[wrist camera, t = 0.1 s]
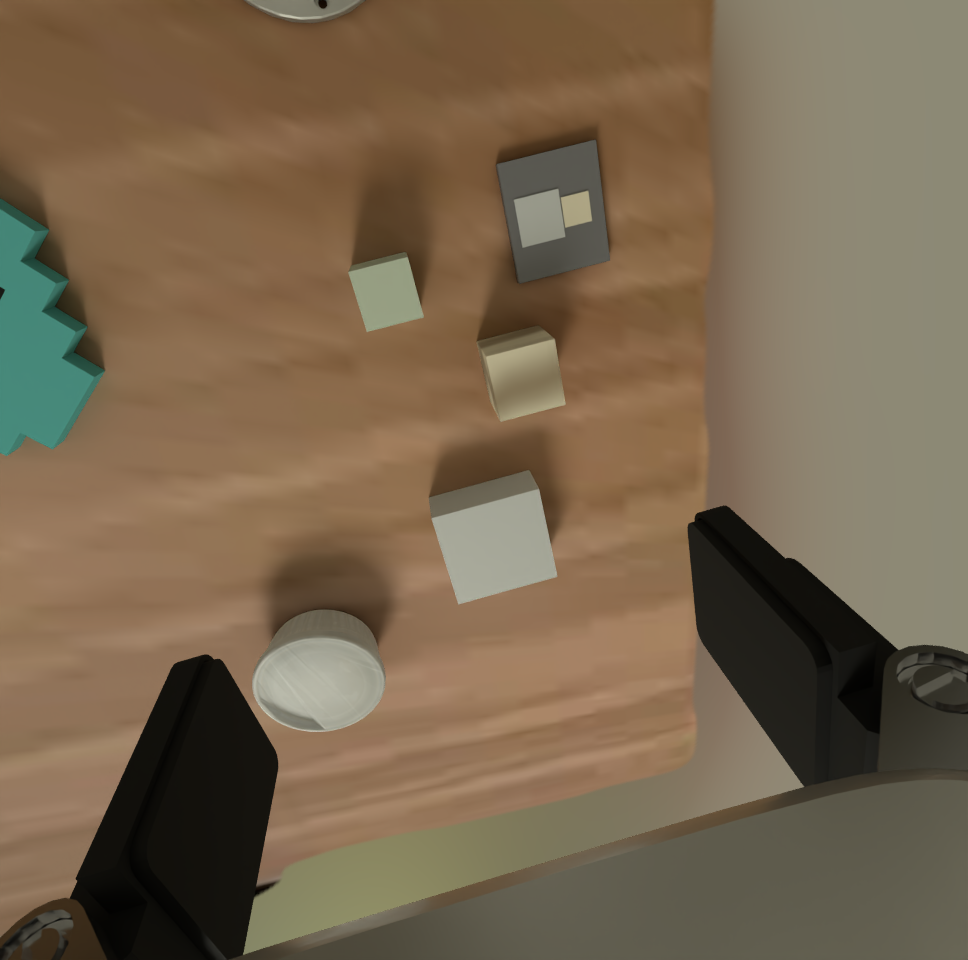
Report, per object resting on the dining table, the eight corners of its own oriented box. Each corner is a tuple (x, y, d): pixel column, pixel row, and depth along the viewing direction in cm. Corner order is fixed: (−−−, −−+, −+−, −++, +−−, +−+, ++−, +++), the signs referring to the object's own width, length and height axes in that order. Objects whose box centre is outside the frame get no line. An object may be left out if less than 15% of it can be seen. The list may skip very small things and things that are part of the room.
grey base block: (428, 495, 52) (431, 518, 48) (528, 468, 52) (539, 488, 48) (453, 577, 56) (458, 604, 52) (546, 552, 56) (557, 576, 52)
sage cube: (351, 265, 42) (348, 272, 39) (405, 251, 43) (407, 256, 39) (368, 320, 44) (367, 331, 41) (420, 307, 44) (423, 317, 41)
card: (495, 164, 41) (497, 164, 40) (593, 140, 41) (596, 139, 41) (517, 282, 45) (519, 283, 44) (607, 259, 45) (610, 260, 44)
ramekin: (241, 665, 56) (228, 708, 51) (299, 578, 53) (291, 616, 48) (347, 705, 60) (344, 748, 55) (406, 627, 57) (408, 666, 52)
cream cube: (476, 341, 46) (486, 356, 42) (538, 324, 46) (554, 338, 42) (490, 400, 48) (500, 421, 44) (549, 385, 49) (565, 404, 44)
